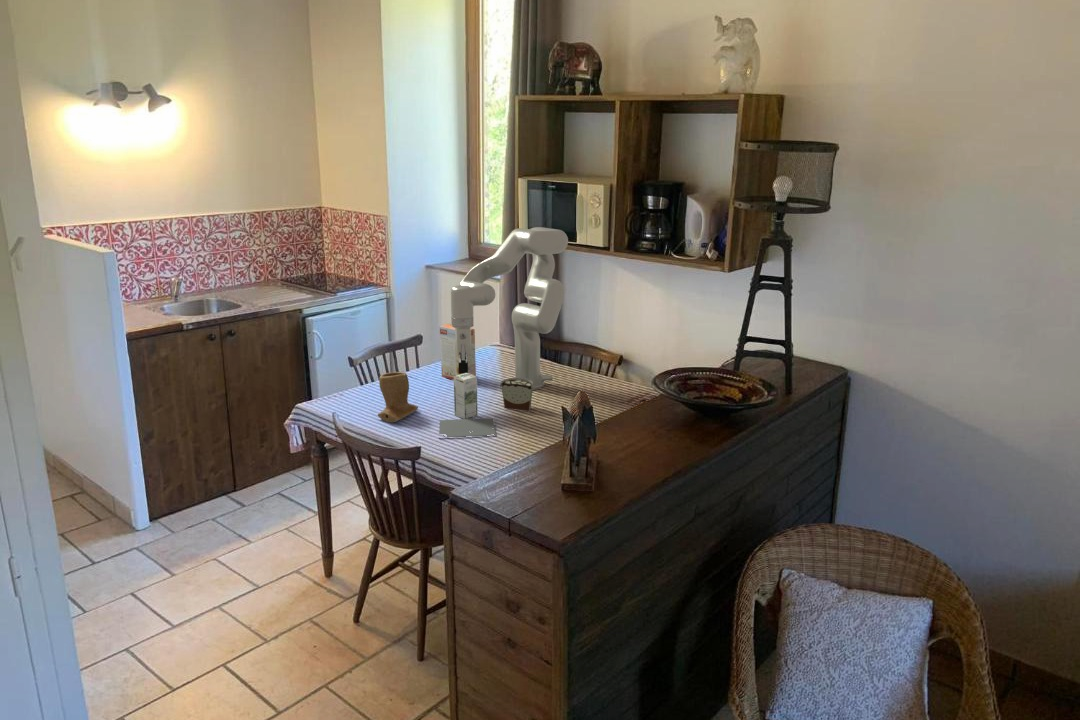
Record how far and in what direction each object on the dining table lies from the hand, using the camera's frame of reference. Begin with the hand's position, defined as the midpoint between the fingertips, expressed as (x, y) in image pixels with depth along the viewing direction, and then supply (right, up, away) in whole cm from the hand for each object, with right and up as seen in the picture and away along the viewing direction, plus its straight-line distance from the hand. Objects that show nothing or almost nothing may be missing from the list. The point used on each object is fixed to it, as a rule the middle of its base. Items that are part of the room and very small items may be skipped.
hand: (463, 372), depth 275 cm
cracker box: (-5, -3, +33) cm, 34 cm away
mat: (+3, -18, -16) cm, 24 cm away
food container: (+20, -12, +3) cm, 24 cm away
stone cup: (-23, -15, -4) cm, 27 cm away
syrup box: (+2, -15, -4) cm, 16 cm away
